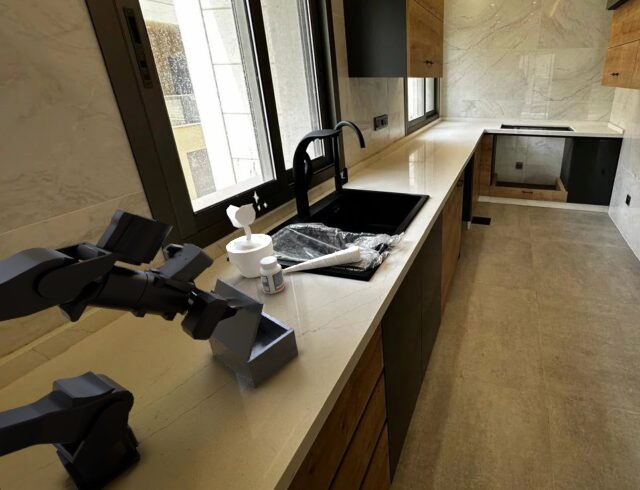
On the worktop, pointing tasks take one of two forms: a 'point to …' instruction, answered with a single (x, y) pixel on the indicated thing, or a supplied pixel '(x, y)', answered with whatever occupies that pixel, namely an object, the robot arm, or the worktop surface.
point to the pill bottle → (271, 275)
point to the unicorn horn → (329, 260)
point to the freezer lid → (238, 320)
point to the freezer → (260, 351)
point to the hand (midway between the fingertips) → (228, 307)
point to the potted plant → (247, 242)
